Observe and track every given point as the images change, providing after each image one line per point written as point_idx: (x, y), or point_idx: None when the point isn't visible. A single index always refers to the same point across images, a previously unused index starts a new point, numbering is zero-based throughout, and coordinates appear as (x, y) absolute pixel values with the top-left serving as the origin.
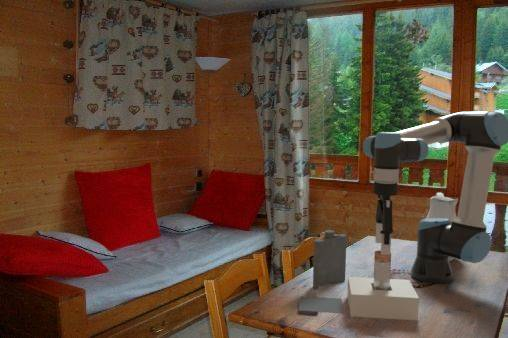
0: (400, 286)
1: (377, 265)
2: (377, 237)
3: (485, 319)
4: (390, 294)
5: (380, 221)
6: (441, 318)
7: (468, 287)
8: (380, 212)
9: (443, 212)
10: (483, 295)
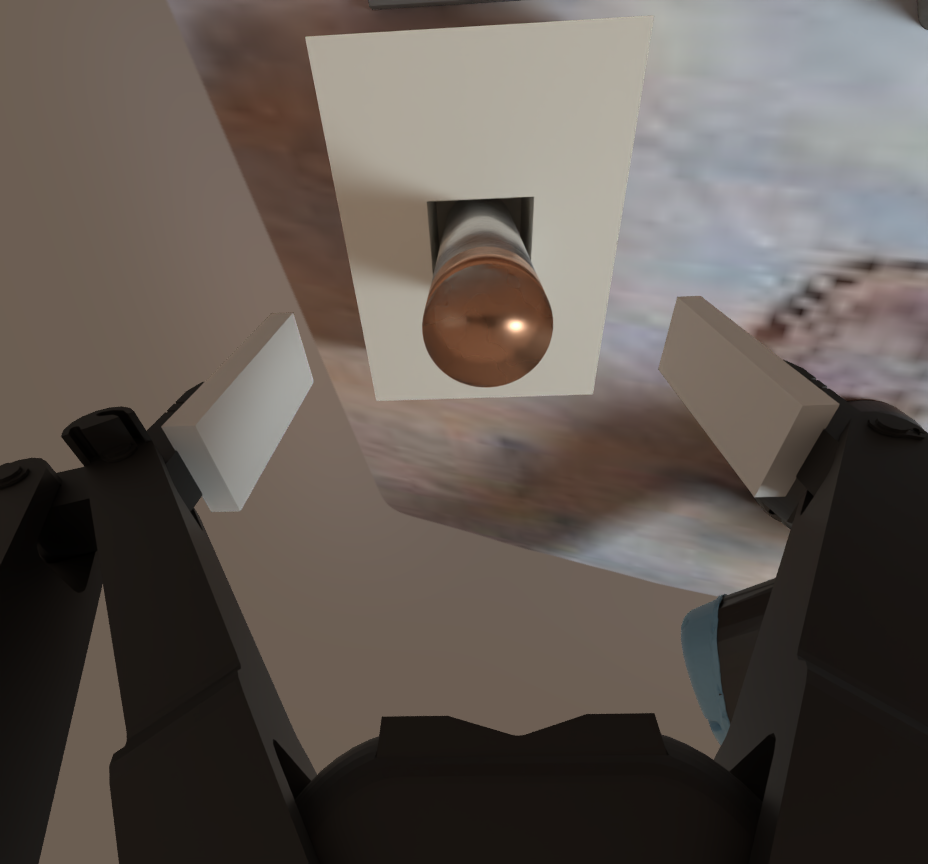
0: None
1: (442, 259)
2: (696, 335)
3: (469, 515)
4: (382, 291)
5: (825, 471)
6: (452, 424)
7: (701, 529)
8: (172, 719)
9: None
10: (635, 545)
